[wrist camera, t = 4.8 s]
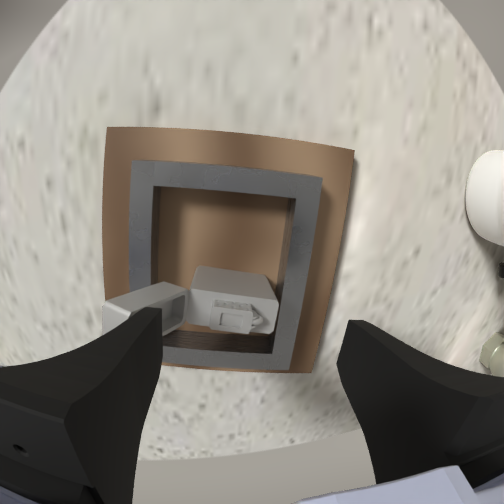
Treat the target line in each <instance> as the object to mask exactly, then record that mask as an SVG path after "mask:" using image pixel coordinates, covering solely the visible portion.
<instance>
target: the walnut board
mask: <svg viewBox="0 0 504 504" xmlns="http://www.w3.org/2000/svg"><path fill="white" fill-rule="evenodd" d="M354 152H355V150H350V149H345V148H340V147H335V146H329V145H323V144H317V143H311V142H305V141H299V140H292V139H285V138H277V137H270V136H262V135H253V134H244V133H234V132H223V131H211V130H197V129H180V128H156V127H107V133H106V144H105V157H104V174H103V201H102V244H103V272H104V288H105V301H106V300H109V299H112V298H115V297H118V296H121V295H124V294H127V293H130V289H129V202H130V181H131V165H132V160H142V159H143V160H165V161H182V162H197V163H210V164H222V165H233V166H243V167H252V168H262V169H270V170H279V171H287V172H294V173H302V174H309V175H314V176H318V177H322V178H323V181H322V188H321V195H320V202H319V209H318V216H317V222H316V228H315V235H314V241H313V247H312V253H311V259H310V265H309V271H308V276H307V282H306V287H305V293H304V298H303V303H302V309H301V314H300V319H299V324H298V329H297V334H296V339H295V343H294V348H293V353H292V358H291V362H290V367H289V370H261V369H238V368H221V367H207V366H195V365H184V364H175V363H165V362H162V364H161V365H167V366H176V367H186V368H196V369H209V370H223V371H240V372H266V373H311V372H312V369H313V365H314V361H315V357H316V353H317V349H318V345H319V341H320V337H321V333H322V329H323V325H324V320H325V316H326V312H327V307H328V303H329V298H330V294H331V289H332V284H333V279H334V274H335V269H336V264H337V259H338V254H339V249H340V243H341V238H342V232H343V226H344V220H345V214H346V208H347V202H348V195H349V189H350V182H351V175H352V167H353V160H354ZM287 204H288V198H287V197H279V196H270V195H260V194H250V193H240V192H230V191H218V190H206V189H194V188H180V187H165V186H161V199H160V218H159V244H158V283H160V282H163V281H164V282H167V283H170V284H173V285H177V286H180V287H183V288H186V289H188V291H189V290H190V286H191V283H192V280H193V277H194V274H195V271H196V268H197V267H198V266H207V267H213V268H220V269H227V270H234V271H241V272H248V273H255V274H262V275H265V276H266V277H267V279H268V281H269V283H270V285H271V288H272V290H273V292H274V294H275V290H276V283H277V276H278V269H279V262H280V255H281V248H282V241H283V234H284V227H285V219H286V212H287ZM176 330H186V331H197V332H209V333H222V334H237V335H254V336H268V335H269V334H265V333H256V332H249V334H243V333H235V332H227V331H219V330H212V329H210V327H208V326H201V325H194V324H189V323H188V322H187V321H185V323H184V325H182V326H180V327H178V328H177V329H176Z"/></svg>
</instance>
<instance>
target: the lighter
mask: <svg viewBox="0 0 504 504" xmlns="http://www.w3.org/2000/svg"><path fill="white" fill-rule="evenodd" d="M144 307H153V308H162V337H163V336H164V335H166V334H168V333H170V332H171V331H173V330H175V329H177V328H178V327H180V326H182V325H184V323H185V321H187V322H188V323H189V324H194V325H201V326H208V327H210V329H212V330H219V331H227V332H235V333H243V334H249V332H256V333H265V334H270V333H271V332H273V331H274V326H275V321H276V317H277V312H278V307H279V303H278V301H277V298H276V296H275V294H274V292H273V290H272V288H271V285H270V283H269V281H268V279H267V277H266V276H265V275H262V274H255V273H248V272H241V271H234V270H227V269H220V268H213V267H207V266H198V267H197V268H196V271H195V274H194V277H193V280H192V283H191V286H190V290H189V291H188V289H186V288H183V287H180V286H177V285H173V284H170V283H167V282H164V281H163V282H160V283H157V284H154V285H151V286H148V287H145V288H142V289H139V290H136V291H133V292H130V293H127V294H124V295H121V296H118V297H115V298H112V299H109V300H106V301H105V303H104V304H103V306H102V330H103V335H104V334H106V333H107V332H109V331H111V330H112V329H114V328H115V327H117V326H118V325H120V324H121V323H123V322H124V321H126V320H127V319H128V318H130V317H131V316H133V315H134V314H135V313H137V312H138V311H140V310H141V309H143V308H144Z"/></svg>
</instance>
